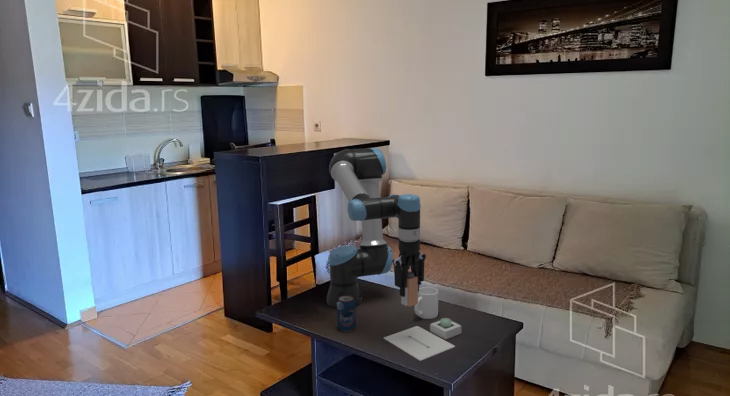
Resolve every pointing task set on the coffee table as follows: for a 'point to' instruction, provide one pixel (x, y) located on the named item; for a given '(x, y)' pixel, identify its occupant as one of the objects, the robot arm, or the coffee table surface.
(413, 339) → the paper
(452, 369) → the coffee table surface
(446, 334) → the button housing
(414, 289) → the block with dark dome
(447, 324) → the button
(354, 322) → the soda can
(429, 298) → the mug
